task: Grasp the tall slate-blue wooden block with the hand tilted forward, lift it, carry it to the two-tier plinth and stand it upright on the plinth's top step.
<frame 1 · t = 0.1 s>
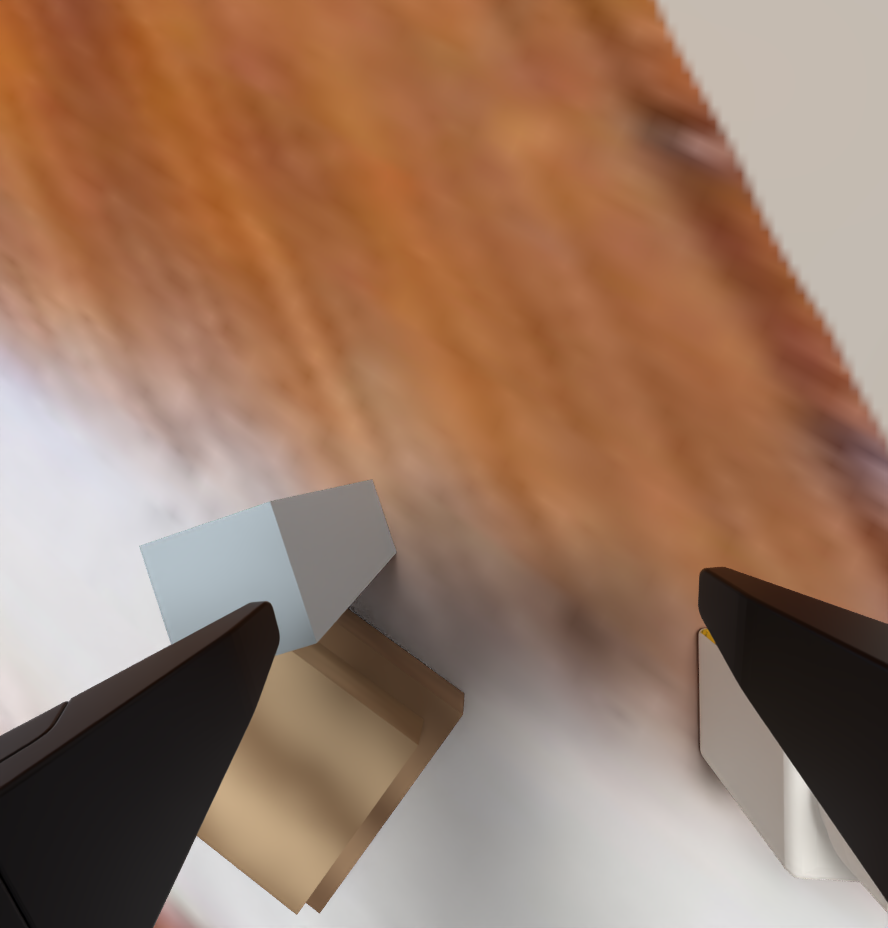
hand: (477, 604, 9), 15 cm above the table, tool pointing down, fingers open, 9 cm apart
block: (348, 527, 25), on the table
plinth: (301, 715, 25), on the table
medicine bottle: (763, 689, 23), on the table
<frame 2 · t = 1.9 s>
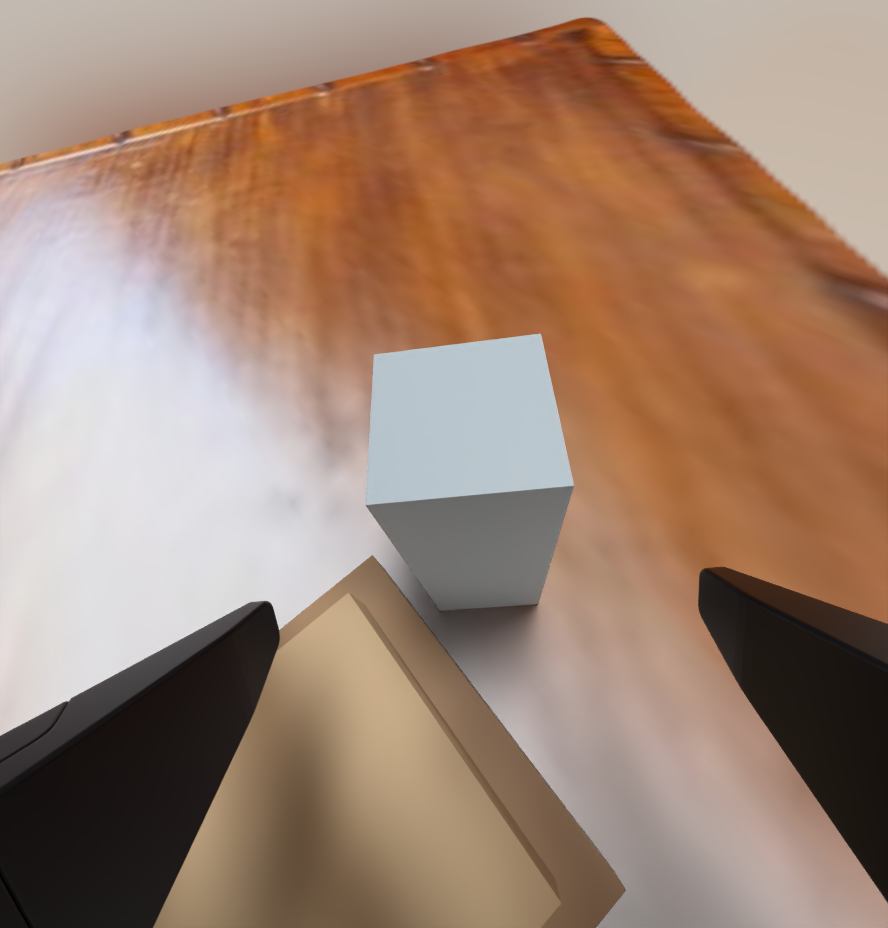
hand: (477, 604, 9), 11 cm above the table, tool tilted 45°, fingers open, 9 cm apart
block: (484, 559, 21), on the table
plinth: (340, 823, 16), on the table
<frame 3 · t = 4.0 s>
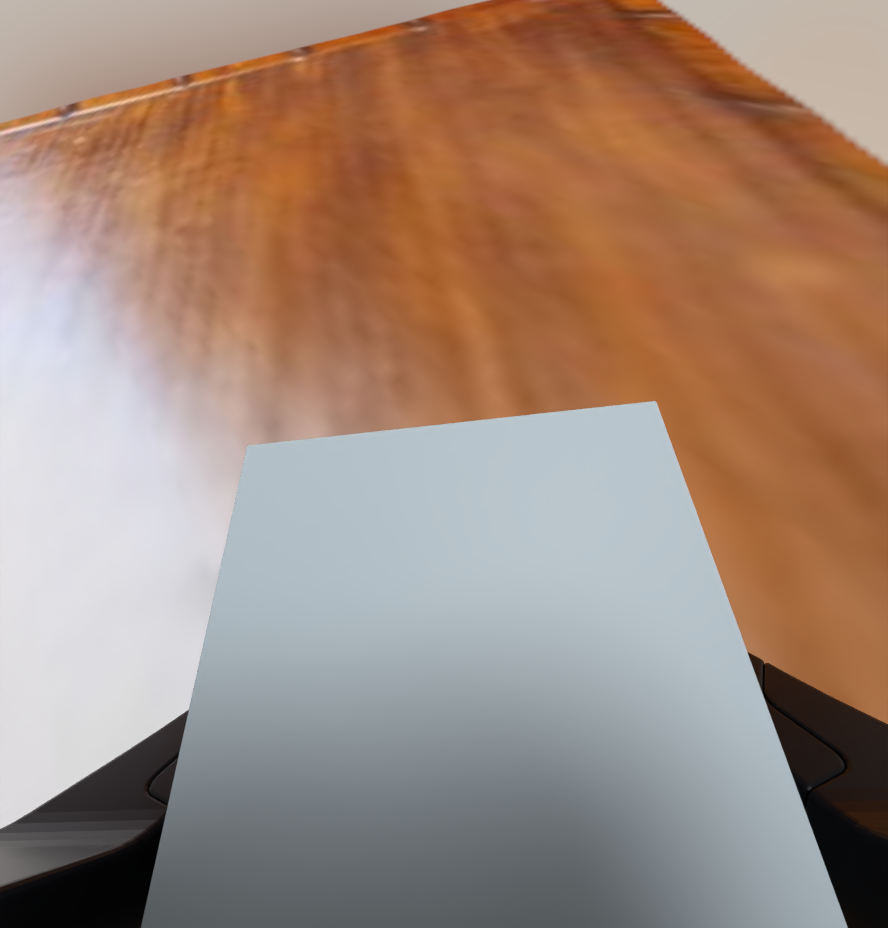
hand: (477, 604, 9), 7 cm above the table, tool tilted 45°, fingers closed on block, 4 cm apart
block: (493, 688, 14), on the table, touching gripper
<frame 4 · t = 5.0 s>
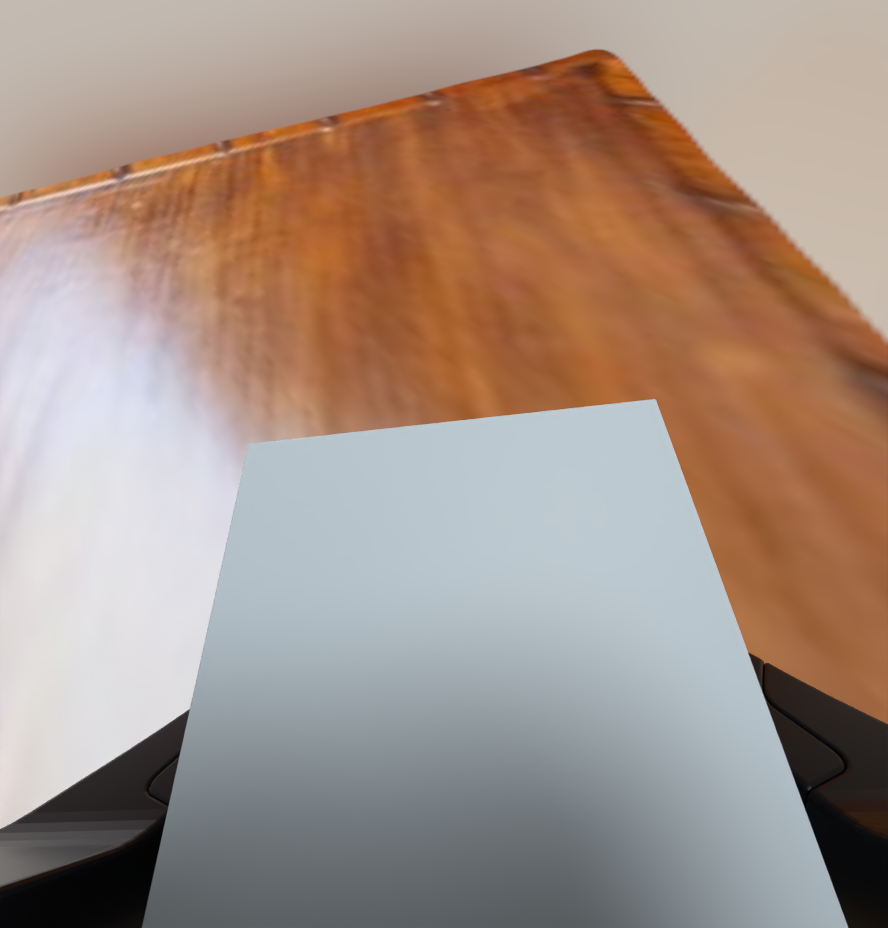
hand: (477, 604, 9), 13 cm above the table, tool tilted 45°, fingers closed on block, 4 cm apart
block: (493, 687, 14), point 7 cm above the table, touching gripper
when the fingers open (12 cm above the table, at t = 6.4 s): block drops 1 cm, resting on plinth.
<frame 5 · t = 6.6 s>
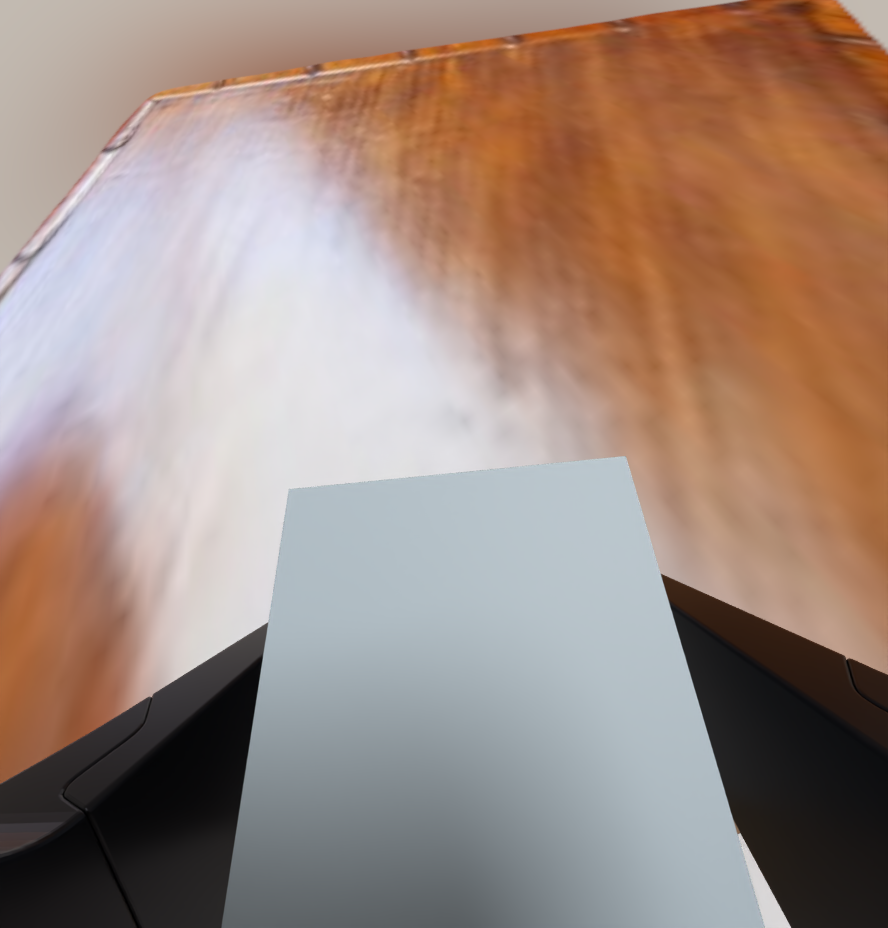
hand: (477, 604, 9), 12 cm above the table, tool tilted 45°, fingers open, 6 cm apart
block: (493, 688, 15), point 4 cm above the table, touching plinth
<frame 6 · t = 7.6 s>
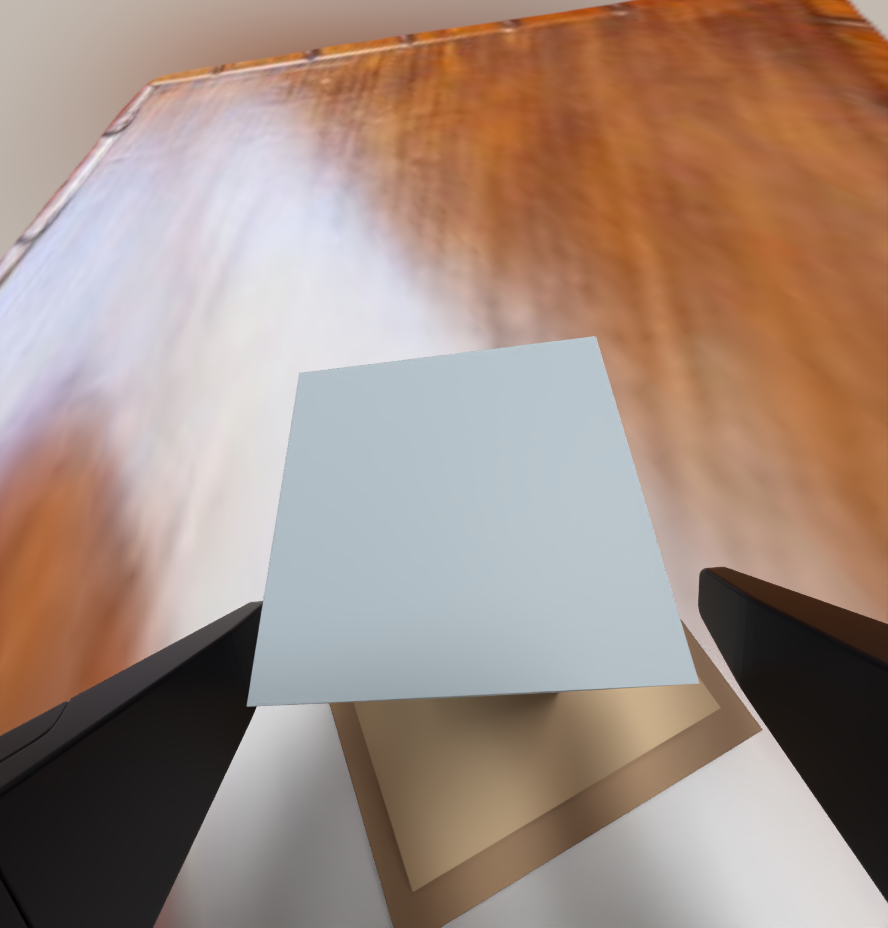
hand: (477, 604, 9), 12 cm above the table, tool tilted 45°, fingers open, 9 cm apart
block: (487, 626, 16), point 4 cm above the table, touching plinth
plinth: (491, 639, 19), on the table
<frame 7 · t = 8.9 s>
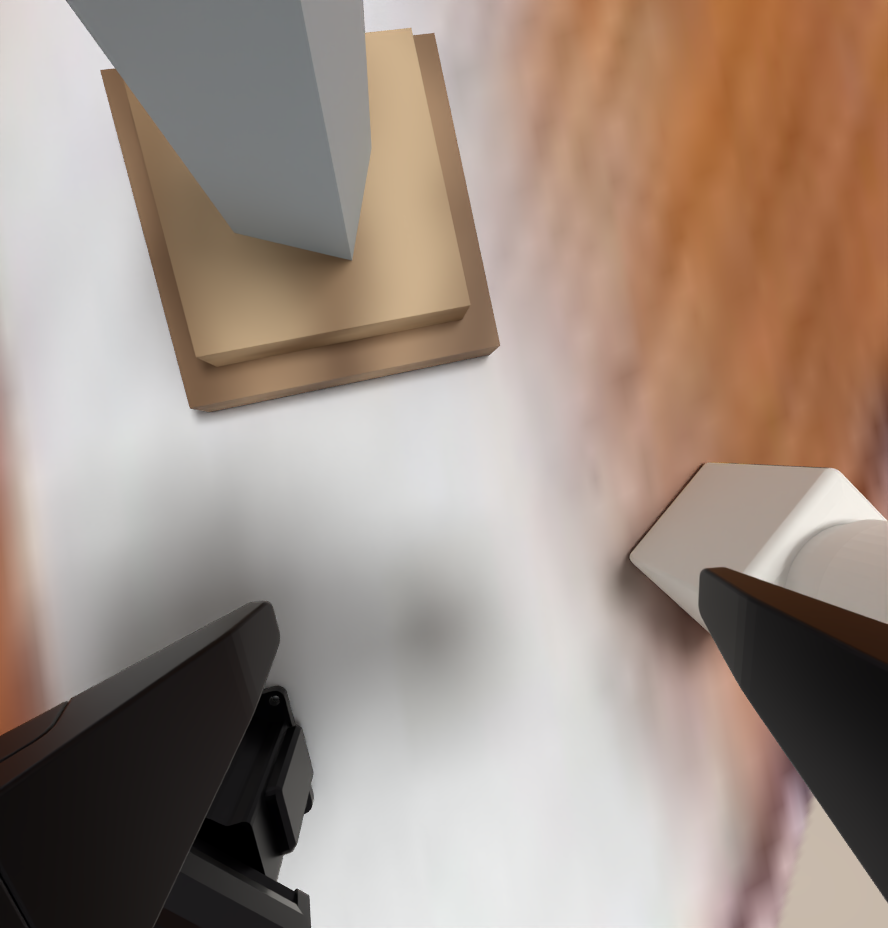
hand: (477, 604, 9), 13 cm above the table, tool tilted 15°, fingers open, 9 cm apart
block: (304, 189, 17), point 4 cm above the table, touching plinth
plinth: (321, 239, 21), on the table
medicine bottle: (705, 547, 24), on the table
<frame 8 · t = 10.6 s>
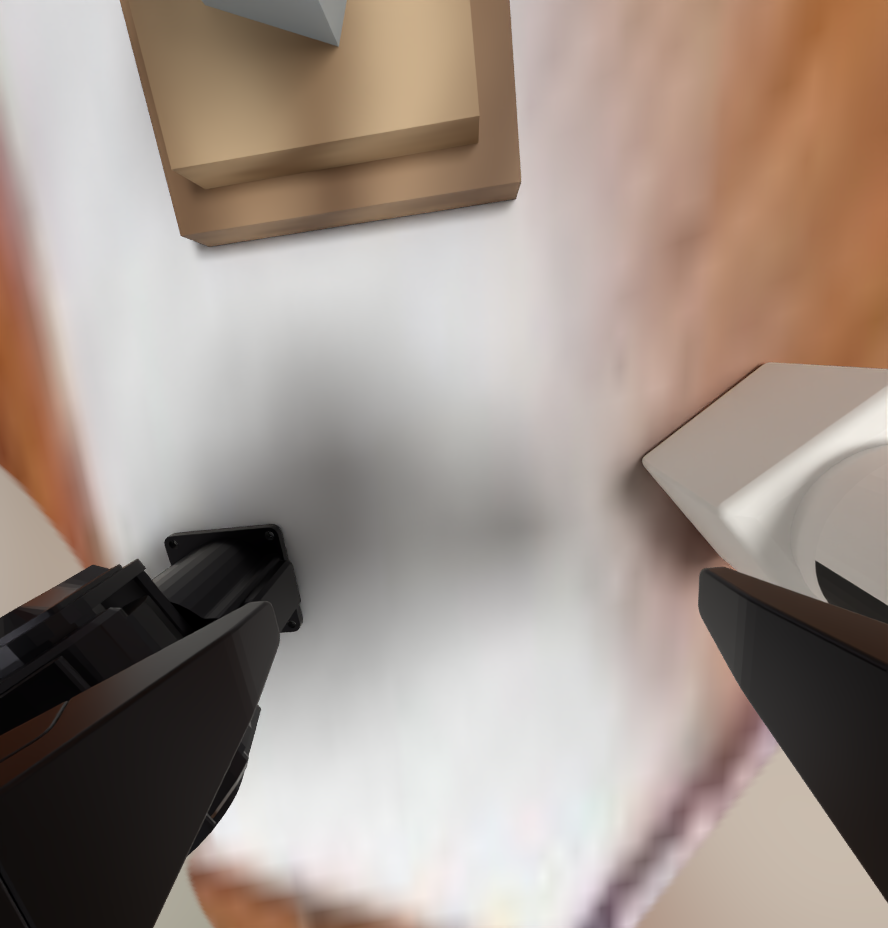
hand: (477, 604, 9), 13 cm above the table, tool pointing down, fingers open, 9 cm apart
plinth: (327, 30, 17), on the table
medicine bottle: (738, 463, 21), on the table
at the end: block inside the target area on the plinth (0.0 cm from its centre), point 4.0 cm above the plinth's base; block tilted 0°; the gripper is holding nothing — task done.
